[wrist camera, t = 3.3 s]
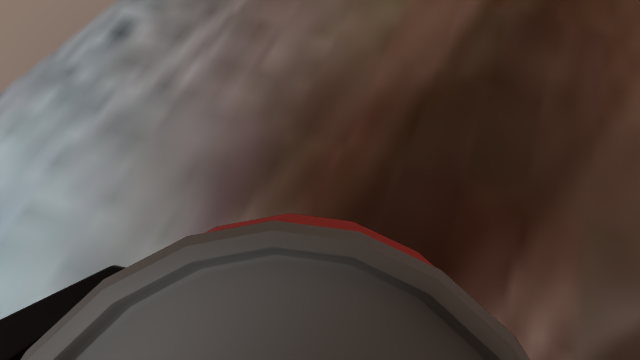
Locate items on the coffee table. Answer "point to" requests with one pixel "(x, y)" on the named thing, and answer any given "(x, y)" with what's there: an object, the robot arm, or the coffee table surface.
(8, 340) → the robot arm
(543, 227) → the coffee table surface
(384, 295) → the beer can
